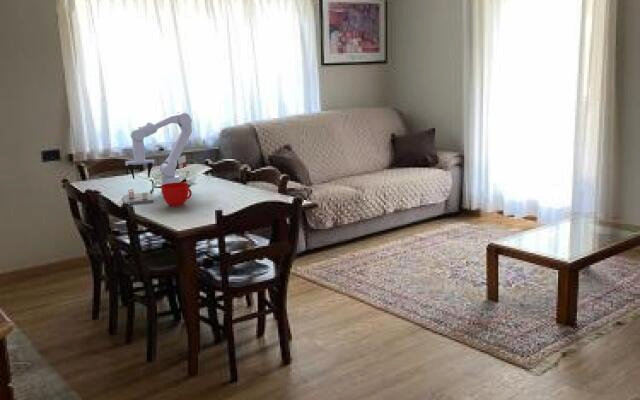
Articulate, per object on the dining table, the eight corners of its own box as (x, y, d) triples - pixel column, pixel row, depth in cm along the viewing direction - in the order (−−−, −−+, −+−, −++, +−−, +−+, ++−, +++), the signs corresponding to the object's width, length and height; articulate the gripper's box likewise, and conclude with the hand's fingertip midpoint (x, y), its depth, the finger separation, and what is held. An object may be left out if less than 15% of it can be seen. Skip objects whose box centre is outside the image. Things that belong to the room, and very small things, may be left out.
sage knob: (147, 197, 305) (146, 191, 305) (147, 198, 303) (147, 192, 302) (142, 197, 304) (141, 192, 304) (142, 198, 302) (142, 193, 302)
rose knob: (134, 196, 309) (133, 190, 308) (134, 197, 307) (133, 191, 306) (129, 196, 308) (128, 191, 307) (129, 197, 306) (128, 191, 305)
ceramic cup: (182, 210, 285) (180, 189, 283) (157, 206, 294) (155, 186, 292) (201, 204, 296) (199, 184, 294) (176, 201, 305) (174, 181, 302)
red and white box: (180, 183, 351) (178, 157, 348) (173, 182, 352) (171, 157, 348) (188, 179, 361) (186, 154, 358) (181, 179, 362) (179, 154, 359)
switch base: (150, 195, 320) (150, 192, 319) (153, 202, 302) (153, 199, 302) (123, 197, 315) (122, 194, 315) (124, 205, 298) (124, 202, 297)
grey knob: (133, 194, 314) (132, 188, 314) (133, 194, 312) (133, 189, 311) (128, 194, 314) (128, 188, 313) (128, 195, 311) (128, 189, 311)
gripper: (124, 154, 308) (127, 180, 311) (154, 152, 313) (156, 178, 316) (124, 152, 315) (126, 178, 318) (152, 150, 319) (155, 175, 322)
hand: (141, 178), depth 317 cm, fingers open, 7 cm apart
